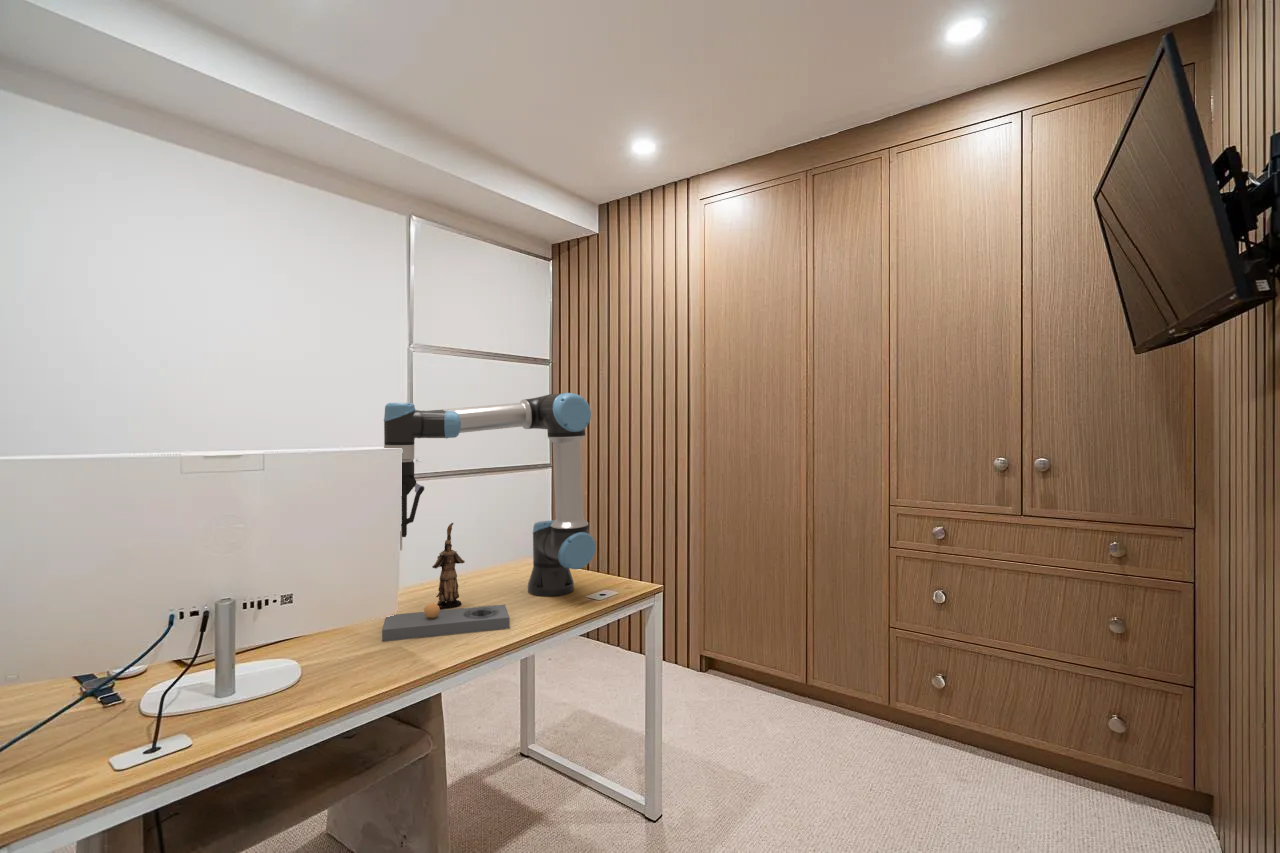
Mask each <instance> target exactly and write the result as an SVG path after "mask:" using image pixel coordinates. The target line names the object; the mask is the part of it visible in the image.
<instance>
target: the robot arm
mask: <svg viewBox="0 0 1280 853" xmlns="http://www.w3.org/2000/svg"><path fill="white" fill-rule="evenodd" d="M591 419H592V410H591V406H590V405H589V402H588V401H587V400H586V399H585V398H584V397H583V396H581V395H580V394H577V393H572V392H564V393H563V392H562V393H551V394H546V395H542V396H538V397H533V398H526V399H525V398H523V399H521V400H520V402H515V403H514V402H513V403H503V404H492V405H479V406H469V407H456V408H455V407H454V408H445V409H443V408H442V409H431V410H430V409H429V410H418V409H416V406H415V404H414V403H412V402H388V403H386V405H385V406H384V417H383V426H384V427H383V428H384V429H383V430H384V431H383V435H384V436H383V438H384V442H383V449H384V448H402V449H403V453H402V496H401V523H400V524H401V531H400V551H403V538H406V537H407V534H408V533H407V532H408V530H407V529H408V527H407V526H408V524H411V523H414V521H415V516H416V513H417V510H418V506H419V502H420V498H421V495H422V494H423V492H424V491H425V486H424V485H420V484H419V483H418V482H417V480H416V477H415V462H414V461H413V460H414V459H415V439H446V440H447V439H452V438H453V439H454V438H457V437H458V436H459V435H460V434H462V433H463V434H464V433H472V432H481V431H492V430H499V429H500V430H501V429H502V430H503V429H509V428H511V429H512V428H520V427H521V428H523V429H525V430H530V429H536V430H537V429H540V430H547V438H548V439H549V440H550V441H551V442H552V452H553V478H554V479H553V480H554V482H553V483H554V505H555V506H554V507H555V508H554V509H555V510H554V511H555V512H554V513H555V519H554V520H553V519H552V520H542V521H538V522H535V523H534V525H533V530H532V547H533V549H532V551H533V552H532V553H533V554H532V559H533V561H532V566H533V567H532V570H531V574H530V576H529V579H528V583H527V592H528V593H529V594H531V595H535V596H538V597H539V596H540V597H557V596H558V597H559V596H563V595H566V594H570V593H572V592H573V591H574V590H575V581H574V578H573V576H572V572H571V570H580V569H582V568H584V567H586V566H588V565H589V563H590V562H591V561H592V560H593V558H594V556H595V553H596V541H595V540H594V538H593V536H592V535H591V534H589V532H590V531H589V530H590V529H589V528H590V527H589V522H588V521H587V520H586V519H585V518H584V503H583V502H584V499H583V477H582V476H583V475H582V473H583V472H582V471H583V470H582V441H583V439H585V437H586V428H587V427H588V425H589V424H590V422H591ZM413 489H414V492H415V496H414V499H413V504H412V507H411V512H410V515H409V517H408V495H409V494H410V493H411V491H412V490H413Z"/></svg>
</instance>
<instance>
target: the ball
mask: <svg viewBox="0 0 1280 853" xmlns="http://www.w3.org/2000/svg"><path fill="white" fill-rule="evenodd" d="M423 612H424V613H425V615H426V616H427V617H428V618H435V617H436V616H437V615H438V614H439V612H440V608H439V606H438V605H437V603H435V602H429V603H428V604H426V605H425V607H424V610H423Z"/></svg>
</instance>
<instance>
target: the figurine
mask: <svg viewBox="0 0 1280 853" xmlns="http://www.w3.org/2000/svg"><path fill="white" fill-rule="evenodd" d="M453 526H454V522H451V523H449V525H448V526H447V529H446V535H447V536H446V540H445V541H444V549H443V550H442V551H440V553H439V554H438V555H437V560H436V561H435V563H434V564H433V565H432V567H431V568H433V569H438V568H441V571H440V574H439V585H438V590H437V591H438V594H436V596H435V598H438V601H437V603H436V604H437V605H438V606H439V608H440V610H450V609H456V608H458V607H461V606H463V603H462V601H461V600H458V599H459V598H460V593H459V583H458V579H457V577H458V574H457V571H456V568H455V567H456V564H464V563H466V562H465V560H464V559H462V557H461V556H460V554H458V552H457V551H456V550H453V549H452V547H453V545H452V530H453Z"/></svg>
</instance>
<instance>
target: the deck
mask: <svg viewBox="0 0 1280 853" xmlns="http://www.w3.org/2000/svg"><path fill="white" fill-rule="evenodd" d="M393 615H394V616H390V617H386V616H385V617H386V618H384V622H383V626H382V629H381V642H382V643H383V642H390V641H391V642H392V641H401V640H411V639H420V638H422V639H423V638H431V637H439V636H450V635H458V634H469V633H477V632H478V633H479V632H488V631H496V630H497V631H498V630H505V629H506V628H509V629H510V621H511V620H510V615H509V612H508V609H507V607H506V604H496V605H483V606H473V607H463V608H462V607H461V608H450V609H443V610H440V612H439V614H438V615H437V616H436V617H435V618H428V617H427V616H426V615H425V613H424V611H420V612H419V611H418V612H409V613H408V612H407V613H398V614H397V613H396V615H395V614H393Z"/></svg>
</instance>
